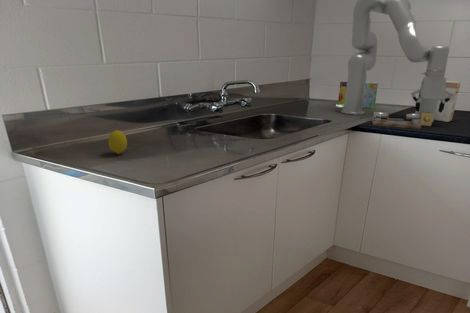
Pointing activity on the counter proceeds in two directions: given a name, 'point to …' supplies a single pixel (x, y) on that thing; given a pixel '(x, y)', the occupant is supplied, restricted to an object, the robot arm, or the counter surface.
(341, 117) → the counter surface
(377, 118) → the shaft stubs
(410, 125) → the bench board
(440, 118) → the coffeecake box
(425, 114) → the coupler
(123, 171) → the counter surface
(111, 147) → the lemon
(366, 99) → the snack box
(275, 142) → the counter surface
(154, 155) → the counter surface
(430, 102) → the supplement box
